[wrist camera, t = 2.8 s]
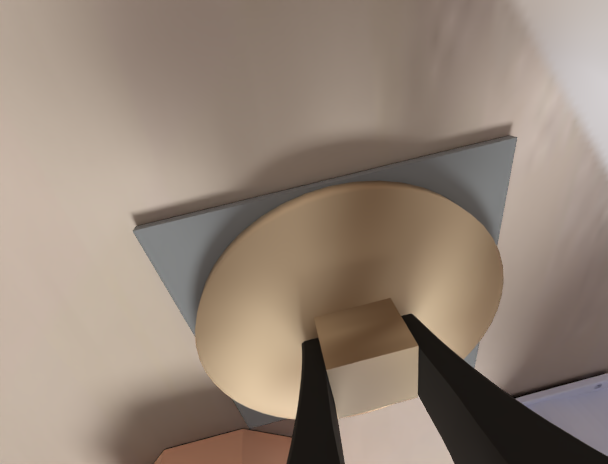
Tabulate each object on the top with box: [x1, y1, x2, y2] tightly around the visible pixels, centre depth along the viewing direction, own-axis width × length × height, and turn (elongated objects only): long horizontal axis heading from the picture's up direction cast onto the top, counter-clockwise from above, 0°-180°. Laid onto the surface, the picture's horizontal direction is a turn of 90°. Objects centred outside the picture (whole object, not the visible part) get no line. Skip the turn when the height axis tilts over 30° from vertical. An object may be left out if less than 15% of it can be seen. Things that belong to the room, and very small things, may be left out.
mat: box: [133, 136, 517, 429], centre depth 13 cm, size 13×13×1 cm
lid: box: [195, 181, 503, 419], centre depth 11 cm, size 12×12×3 cm
